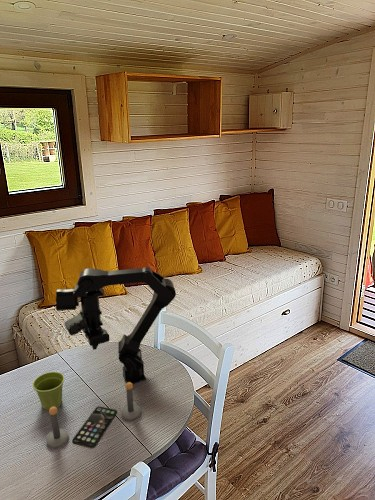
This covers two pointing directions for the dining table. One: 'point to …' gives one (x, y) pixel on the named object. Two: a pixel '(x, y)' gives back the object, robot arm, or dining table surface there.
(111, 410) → the smartphone
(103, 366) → the dining table surface
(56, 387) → the plant pot
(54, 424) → the stand
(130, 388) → the stand inner
